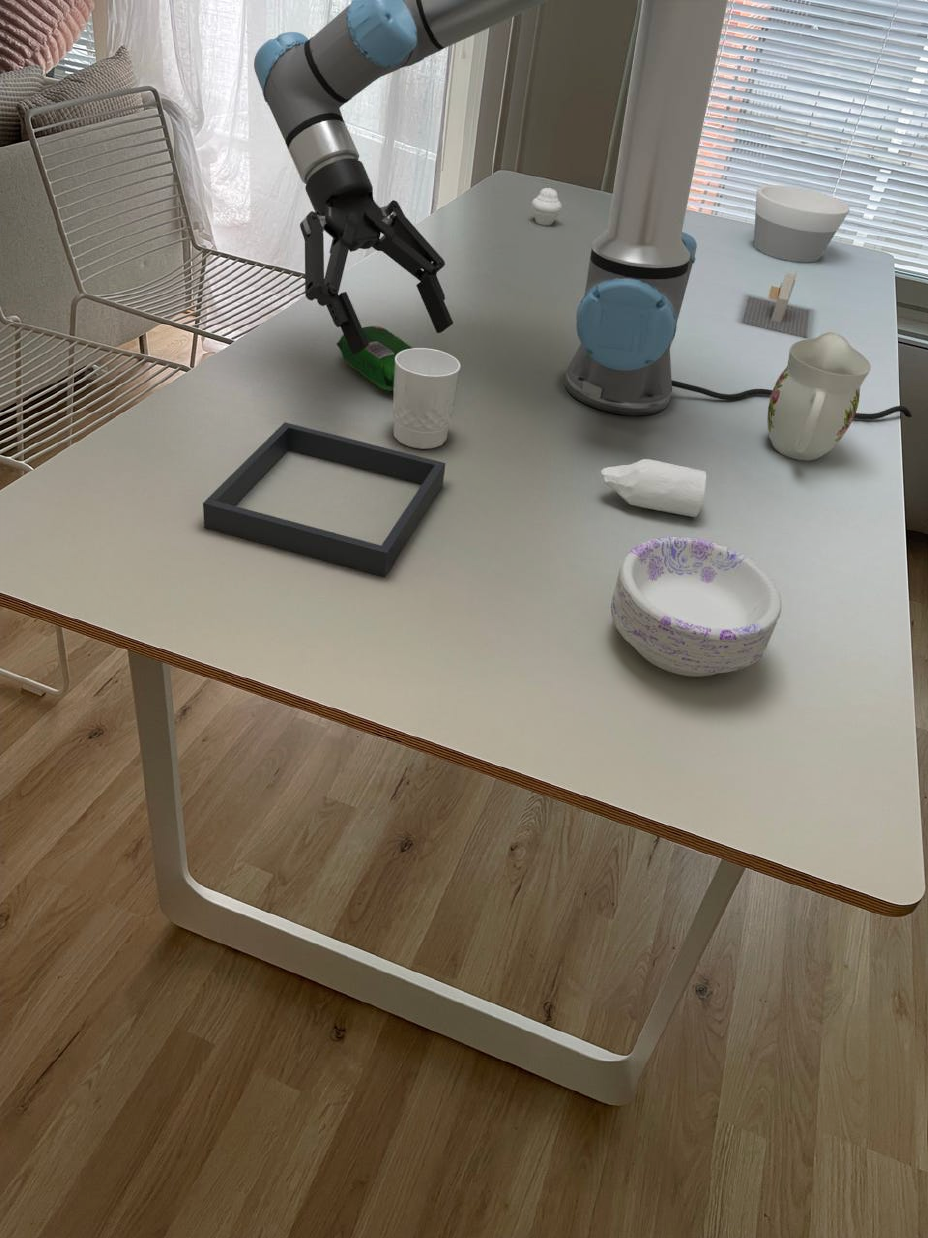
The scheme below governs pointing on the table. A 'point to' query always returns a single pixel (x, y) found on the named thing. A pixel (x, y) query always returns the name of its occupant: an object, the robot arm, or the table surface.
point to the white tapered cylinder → (658, 486)
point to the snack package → (375, 356)
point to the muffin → (546, 206)
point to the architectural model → (778, 310)
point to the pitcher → (816, 396)
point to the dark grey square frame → (313, 540)
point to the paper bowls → (694, 606)
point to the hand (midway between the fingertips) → (404, 339)
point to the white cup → (424, 396)
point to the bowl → (796, 222)
